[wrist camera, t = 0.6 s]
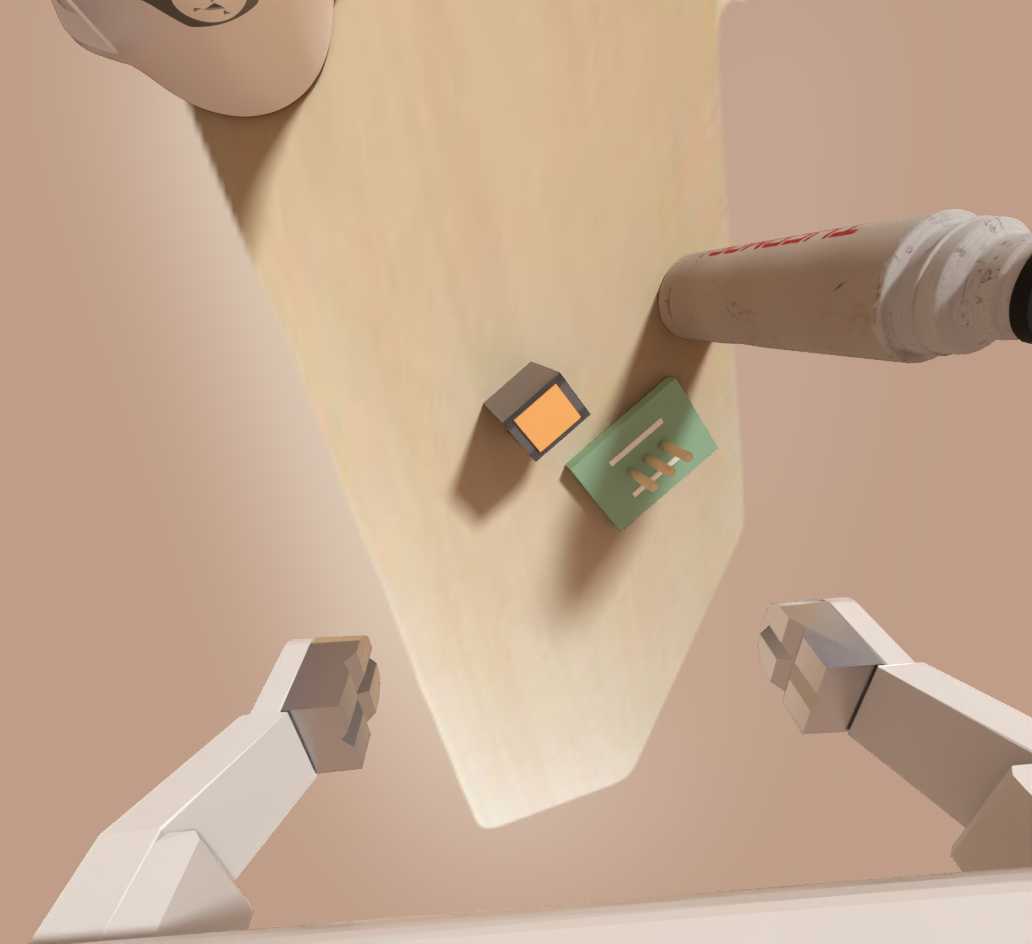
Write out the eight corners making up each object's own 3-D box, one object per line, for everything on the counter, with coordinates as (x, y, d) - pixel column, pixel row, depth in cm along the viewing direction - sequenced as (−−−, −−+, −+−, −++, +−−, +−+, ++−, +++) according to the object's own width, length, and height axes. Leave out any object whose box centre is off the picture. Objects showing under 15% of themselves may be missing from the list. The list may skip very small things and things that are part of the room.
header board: (614, 525, 53) (641, 551, 47) (565, 464, 48) (588, 484, 43) (709, 444, 52) (747, 460, 47) (667, 376, 48) (703, 385, 43)
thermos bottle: (665, 248, 44) (1058, 166, 18) (736, 257, 46) (1177, 197, 20) (651, 336, 46) (977, 373, 21) (719, 341, 48) (1091, 381, 23)
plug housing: (512, 437, 46) (536, 462, 38) (483, 403, 44) (503, 423, 37) (558, 397, 46) (591, 414, 38) (531, 361, 44) (560, 372, 36)
